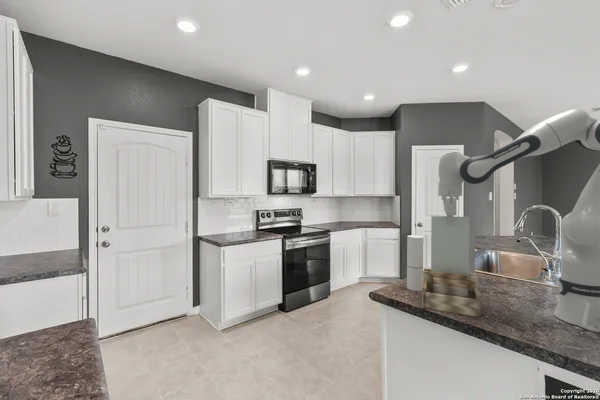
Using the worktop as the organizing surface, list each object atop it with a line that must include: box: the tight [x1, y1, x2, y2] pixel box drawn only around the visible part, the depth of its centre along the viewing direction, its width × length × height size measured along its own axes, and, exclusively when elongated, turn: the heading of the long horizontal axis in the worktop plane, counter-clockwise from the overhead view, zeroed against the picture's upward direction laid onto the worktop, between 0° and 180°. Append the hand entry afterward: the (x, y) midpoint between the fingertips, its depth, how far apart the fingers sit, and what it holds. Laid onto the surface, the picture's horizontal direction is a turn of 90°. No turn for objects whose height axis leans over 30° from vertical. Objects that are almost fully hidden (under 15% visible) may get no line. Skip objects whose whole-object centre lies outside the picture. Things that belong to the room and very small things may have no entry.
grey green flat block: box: [430, 215, 470, 276], centre depth 118 cm, size 14×2×24 cm, turn 64°
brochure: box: [469, 224, 476, 274], centre depth 136 cm, size 14×6×30 cm, turn 84°
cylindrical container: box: [406, 234, 424, 292], centre depth 134 cm, size 7×7×25 cm
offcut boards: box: [433, 271, 468, 298], centre depth 113 cm, size 12×6×13 cm, turn 64°
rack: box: [421, 267, 482, 318], centre depth 115 cm, size 20×16×12 cm
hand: (449, 224), depth 118 cm, fingers closed on grey green flat block, 2 cm apart
